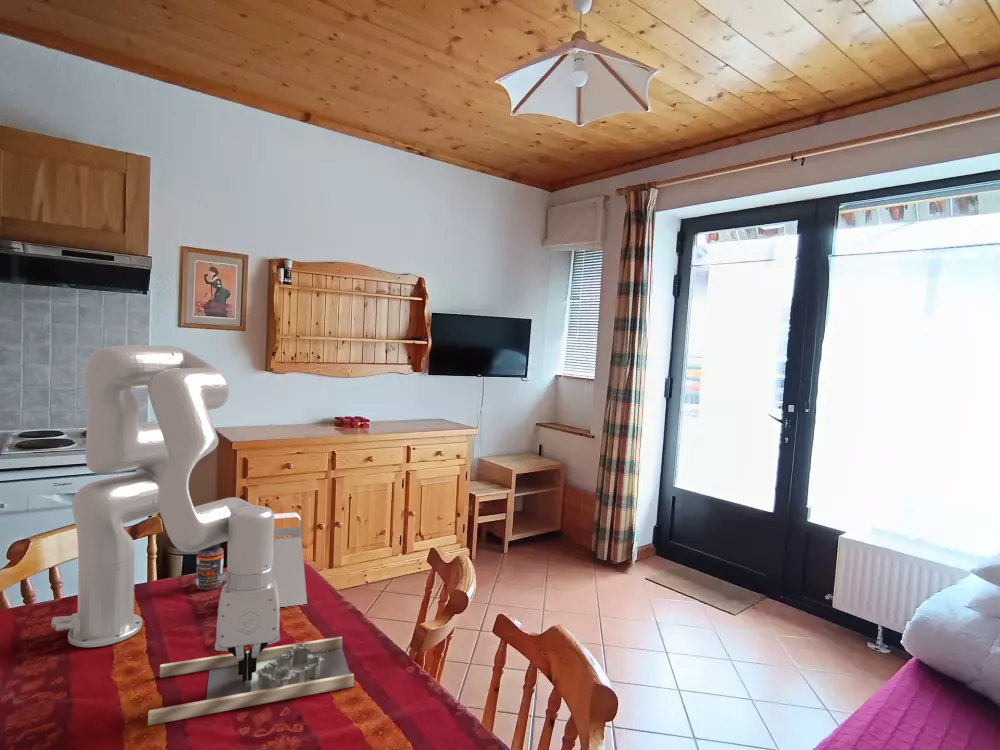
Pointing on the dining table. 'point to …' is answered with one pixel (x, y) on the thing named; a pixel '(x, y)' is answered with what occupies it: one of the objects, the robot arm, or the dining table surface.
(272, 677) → the egg carton
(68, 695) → the dining table surface
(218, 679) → the channel
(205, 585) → the supplement bottle
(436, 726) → the dining table surface
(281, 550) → the grater
